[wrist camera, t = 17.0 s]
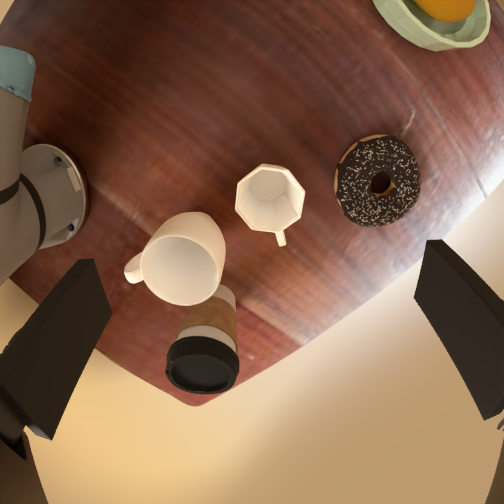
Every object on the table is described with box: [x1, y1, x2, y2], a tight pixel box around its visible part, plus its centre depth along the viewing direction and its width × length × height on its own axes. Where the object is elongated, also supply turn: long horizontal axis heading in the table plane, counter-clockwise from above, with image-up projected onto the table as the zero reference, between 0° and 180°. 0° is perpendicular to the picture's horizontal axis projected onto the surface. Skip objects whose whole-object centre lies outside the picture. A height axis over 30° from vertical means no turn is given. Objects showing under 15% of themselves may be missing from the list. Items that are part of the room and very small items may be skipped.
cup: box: [235, 164, 305, 246], centre depth 33 cm, size 7×10×8 cm
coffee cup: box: [165, 284, 239, 394], centre depth 38 cm, size 8×8×15 cm
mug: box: [124, 212, 226, 306], centre depth 34 cm, size 12×8×11 cm
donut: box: [334, 135, 420, 227], centre depth 34 cm, size 11×12×4 cm
